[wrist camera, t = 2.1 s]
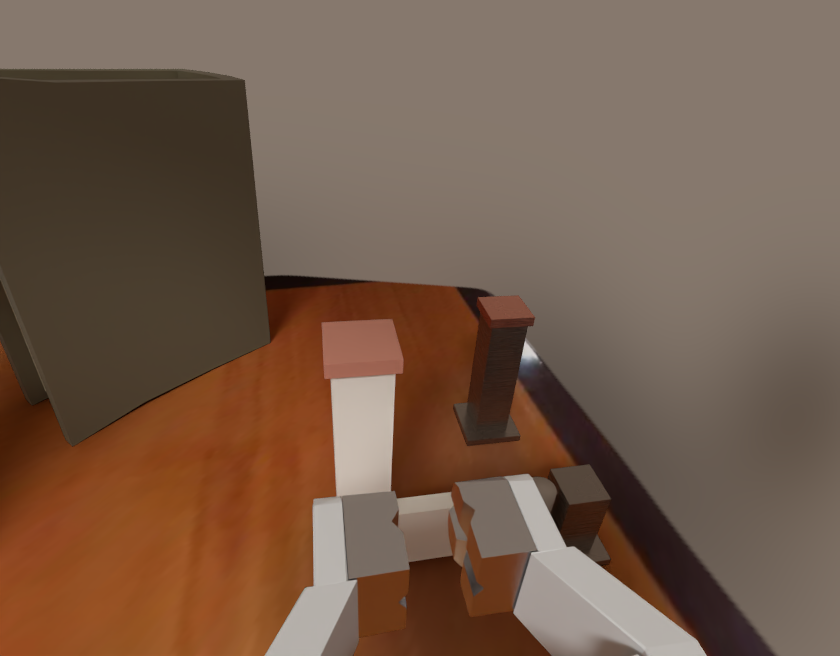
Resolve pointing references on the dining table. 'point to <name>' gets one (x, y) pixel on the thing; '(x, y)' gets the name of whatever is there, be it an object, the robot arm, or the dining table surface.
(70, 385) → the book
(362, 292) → the dining table surface
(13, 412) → the dining table surface
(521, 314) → the post
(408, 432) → the dining table surface
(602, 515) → the hinge post
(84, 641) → the dining table surface
